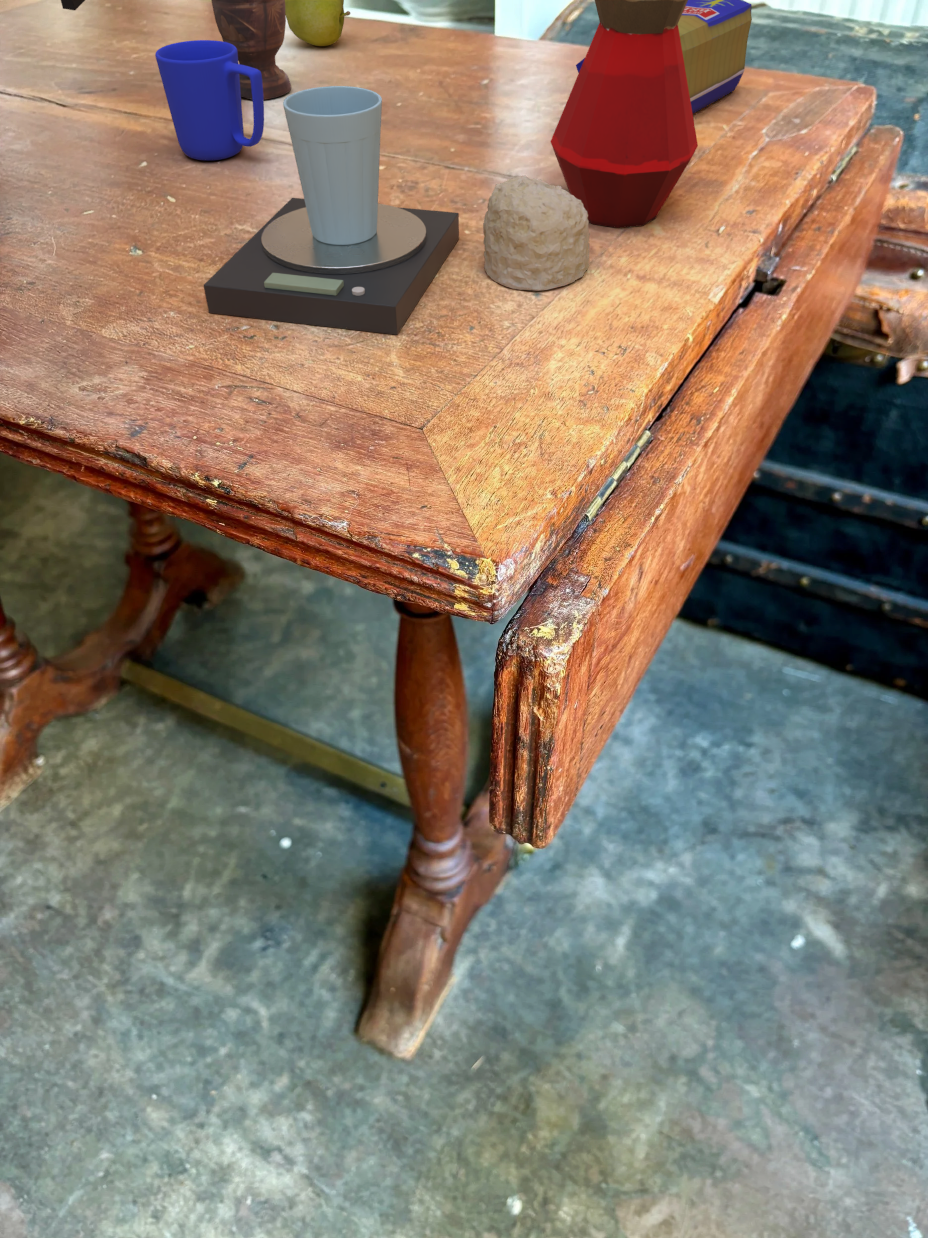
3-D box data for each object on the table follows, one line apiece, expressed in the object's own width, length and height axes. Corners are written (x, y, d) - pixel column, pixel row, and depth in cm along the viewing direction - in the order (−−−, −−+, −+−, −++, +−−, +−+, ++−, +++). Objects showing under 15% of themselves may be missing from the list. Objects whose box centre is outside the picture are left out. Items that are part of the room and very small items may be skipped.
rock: (534, 287, 92) (477, 188, 88) (623, 241, 87) (566, 133, 83) (500, 331, 86) (436, 226, 82) (593, 284, 80) (529, 169, 76)
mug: (244, 178, 103) (228, 70, 96) (159, 157, 107) (137, 53, 100) (294, 154, 108) (282, 50, 101) (210, 135, 112) (193, 35, 105)
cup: (279, 235, 84) (262, 101, 77) (343, 208, 89) (332, 79, 81) (344, 258, 81) (332, 121, 74) (406, 229, 85) (401, 96, 78)
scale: (208, 313, 80) (201, 278, 78) (295, 222, 94) (291, 191, 92) (397, 335, 77) (395, 299, 75) (459, 238, 91) (458, 206, 89)
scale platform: (235, 264, 81) (234, 257, 81) (298, 201, 91) (297, 195, 91) (398, 282, 79) (398, 275, 78) (445, 215, 89) (445, 208, 88)
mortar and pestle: (297, 108, 119) (274, -95, 106) (224, 112, 118) (191, -92, 105) (294, 80, 128) (272, -111, 114) (226, 84, 127) (195, -109, 113)
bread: (749, 91, 123) (766, -6, 116) (649, 146, 109) (661, 39, 101) (676, 77, 127) (687, -17, 120) (571, 128, 113) (577, 25, 106)
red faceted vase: (551, 176, 102) (563, -57, 88) (684, 181, 101) (717, -55, 87) (542, 238, 91) (555, -18, 77) (692, 244, 90) (732, -15, 76)
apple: (350, 52, 137) (345, -15, 132) (284, 52, 137) (277, -15, 132) (356, 38, 143) (351, -28, 137) (293, 38, 143) (286, -28, 138)
